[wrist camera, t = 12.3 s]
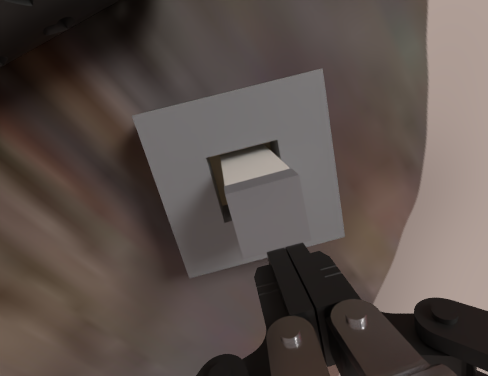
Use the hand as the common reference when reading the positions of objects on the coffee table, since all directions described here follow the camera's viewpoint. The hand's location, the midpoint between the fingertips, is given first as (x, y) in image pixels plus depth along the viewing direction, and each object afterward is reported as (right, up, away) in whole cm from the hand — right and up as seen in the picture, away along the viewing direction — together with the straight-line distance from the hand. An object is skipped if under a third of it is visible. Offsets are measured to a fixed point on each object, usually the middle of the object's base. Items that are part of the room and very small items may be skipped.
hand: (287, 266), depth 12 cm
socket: (-2, +5, +16) cm, 17 cm away
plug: (-1, +5, +15) cm, 16 cm away
